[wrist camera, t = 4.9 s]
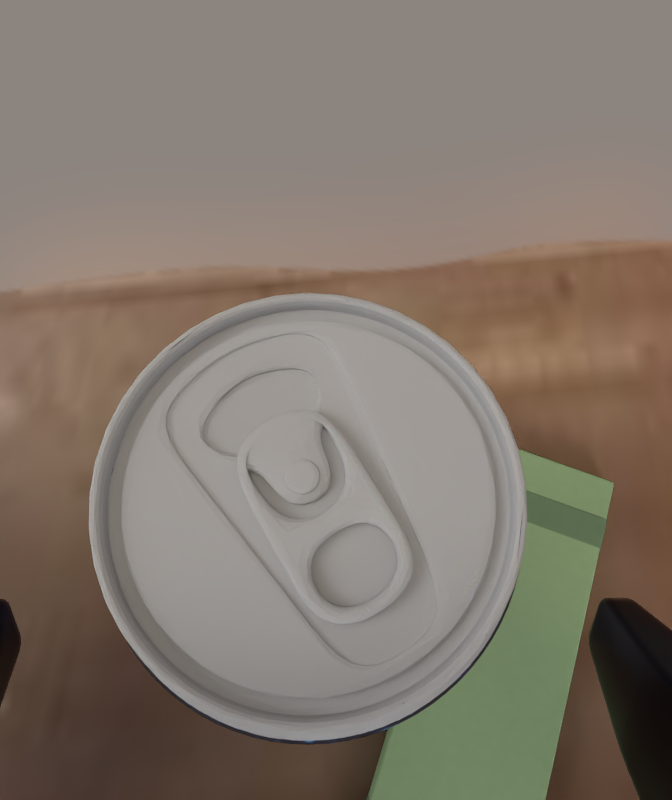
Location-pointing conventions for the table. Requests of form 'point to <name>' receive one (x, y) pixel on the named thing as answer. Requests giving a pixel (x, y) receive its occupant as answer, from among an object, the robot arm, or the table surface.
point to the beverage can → (308, 518)
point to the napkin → (511, 662)
